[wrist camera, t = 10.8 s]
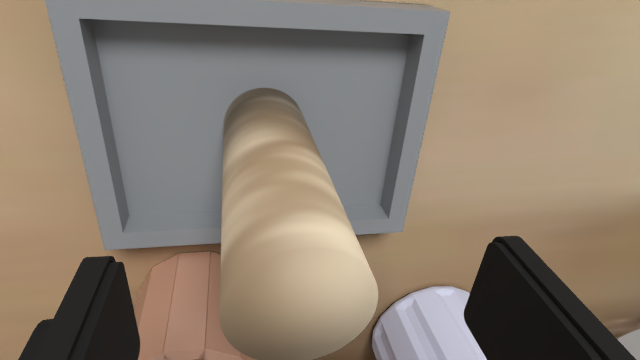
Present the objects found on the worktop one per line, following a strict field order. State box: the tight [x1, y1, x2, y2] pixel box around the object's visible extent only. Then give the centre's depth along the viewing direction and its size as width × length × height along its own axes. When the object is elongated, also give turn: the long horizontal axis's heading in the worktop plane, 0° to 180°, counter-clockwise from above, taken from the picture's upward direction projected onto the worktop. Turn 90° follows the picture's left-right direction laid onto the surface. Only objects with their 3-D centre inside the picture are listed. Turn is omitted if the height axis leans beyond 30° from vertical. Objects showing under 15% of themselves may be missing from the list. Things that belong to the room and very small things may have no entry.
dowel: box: [219, 88, 378, 360], centre depth 15 cm, size 4×4×12 cm
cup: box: [134, 251, 257, 360], centre depth 23 cm, size 7×7×7 cm
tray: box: [45, 0, 450, 250], centre depth 20 cm, size 16×12×2 cm
